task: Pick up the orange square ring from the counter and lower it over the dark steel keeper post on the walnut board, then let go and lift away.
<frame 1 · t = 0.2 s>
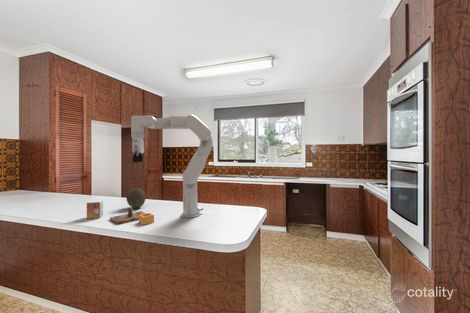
hand: (137, 162, 143), 36 cm above the table, tool pointing down, fingers open, 9 cm apart
small box: (95, 217, 147), on the table
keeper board: (130, 218, 143), on the table
orange square ring: (146, 222, 136), on the table
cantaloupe: (136, 207, 172), on the table
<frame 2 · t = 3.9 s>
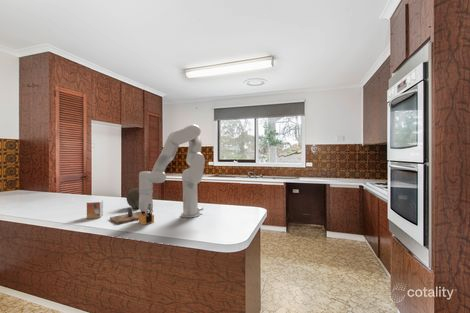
hand: (146, 220, 136), 1 cm above the table, tool pointing down, fingers closed on orange square ring, 6 cm apart
orange square ring: (146, 222, 136), on the table, touching gripper
everything else where it was.
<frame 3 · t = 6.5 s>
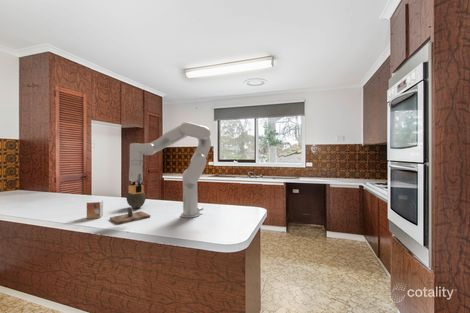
hand: (136, 191, 139), 18 cm above the table, tool pointing down, fingers closed on orange square ring, 6 cm apart
orange square ring: (136, 192, 139), point 17 cm above the table, touching gripper
everything else where it was.
when the fingers open (5 cm above the table, at t = 9.4 s): orange square ring drops 2 cm, resting on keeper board.
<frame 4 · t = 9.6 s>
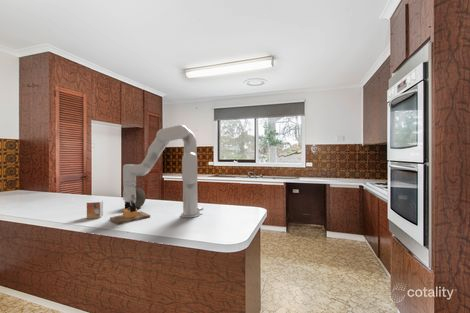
hand: (130, 210, 143), 5 cm above the table, tool pointing down, fingers open, 8 cm apart
orange square ring: (130, 216, 143), point 1 cm above the table, touching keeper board
everything else where it was.
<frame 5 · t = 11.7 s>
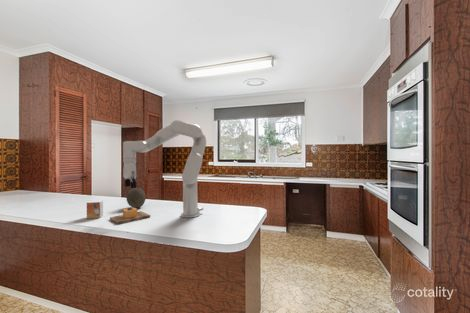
hand: (130, 187, 143), 20 cm above the table, tool pointing down, fingers open, 9 cm apart
nothing on the table moved.
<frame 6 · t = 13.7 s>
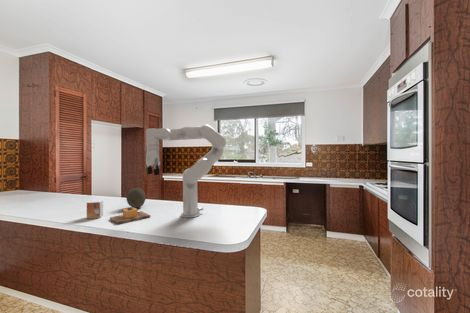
hand: (153, 174, 144), 28 cm above the table, tool pointing down, fingers open, 9 cm apart
nothing on the table moved.
at the end: orange square ring 0.0 cm from the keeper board (horizontally); orange square ring point 1.5 cm above the table; the gripper is holding nothing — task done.
